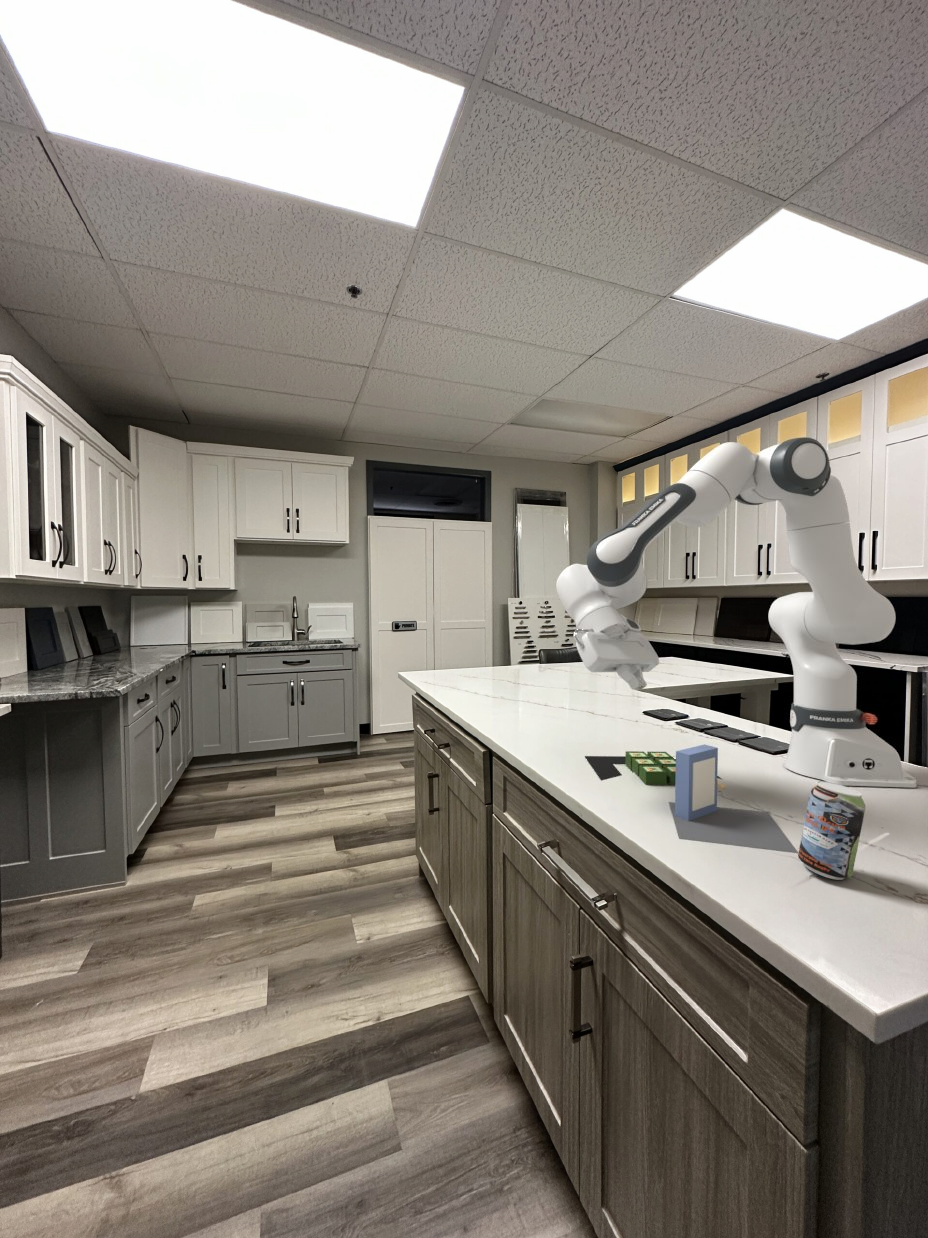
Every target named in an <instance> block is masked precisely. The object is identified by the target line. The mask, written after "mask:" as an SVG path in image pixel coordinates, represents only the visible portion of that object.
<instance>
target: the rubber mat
mask: <svg viewBox="0 0 928 1238" xmlns="http://www.w3.org/2000/svg"><path fill="white" fill-rule="evenodd" d="M668 804H669V808H670V811H671V815H672V818H673V822H674V826H675V829H676V833H677V835H678V839H679V840H686V841H687V840H688V841H694V842H695V841H696V842H702V843H709V844H718V845H727V846H736V847H745V848H752V849H753V848H754V849H761V850H767V851H768V850H769V851H777V852H785V853H793V854H798V853H799V850H797V849H796V847H795V846H794V845H793V843H792V842H791V841H790V839H789V838H788V837H787V835H786V834H785V832H784V831H783V830H782V828H781V827H780V826H779V824H778V823H777V822H776V820H775V819H774V818H773V816H772V815H771V814H770V813H769V812H768V811H761V810H760V811H759V810H753V809H752V810H750V809H741V808H731V807H721V806H717V811H715V812H712V813H709V814H706V815H704V816H701V817H698V818H695V819H693V820H690V821H687V820H684V819H682V818H680V817H677V816H675V801H674V802H671V801H668Z"/></svg>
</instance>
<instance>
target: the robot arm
mask: <svg viewBox="0 0 928 1238" xmlns="http://www.w3.org/2000/svg"><path fill="white" fill-rule="evenodd" d="M830 464H831V463H830V457H829V455H828V452H827V450H826V449H825V447H824V446H823V444H822V443H820V442H819V441H818V440H816V438H812V437H804V436H803V437H794V438H790V439H787V440H785V441H783V442H780V443H777V444H774V445H771V446H769V447H766V448H764V449H762V450H761V451H759V452H757V453H753V452H752V451H751V449H749V448H748V447H747V446H745V445H744V444H741V443H739V442H735V441H734V442H733V441H729V442H728V441H727V442H724V443H721V444H719V445H717V446H716V447H715V448H713V449H712V450H710V451H709V452H708V453H706V454H705V455H704V456H703V457H701V458H700V459H699V460H698V461H697V462H695V464H693V465H692V466H691V468H689V470H687V472H685V474H684V475H683V476H682V477H681V478H680V479H679V480H678V481H677V482H676V483H673V484H671V485H669V486H667V487H666V488H664V489H663V490H661V491H660V492H659V493H657V494H656V495H655V496H654V497H653V498H651V500H649V501H648V502H646V504H645V505H644V506H642V507H641V508H640V509H639V510H638V511H637V512H636V513H635V514H633V515H632V516H631V517H630V518H629V519H628V520H627V521H625V522H624V523H623V524H621V525H620V526H619V527H617V528H615V529H614V530H612V531H610V532H609V533H606V534H605V535H603V536H600V537H599V538H597V540H595V541H594V543H593V544H592V545H591V547H590V548H589V550H588V552H587V555H586V556H587V557H586V564H581V563H573V564H571V565H569V566H567V567H566V568H565V569H563V571H561V572H560V574H559V575H558V577H557V579H556V585H555V589H556V593H557V596H558V598H559V600H560V602H561V604H562V606H563V608H564V610H565V612H566V613H567V614H568V616H569V617H570V618H571V619H572V620H573V621H574V623H575V627H576V629H575V630H574V632H573V635H572V637H573V638H574V641H575V642H576V643H575V645H576V647H575V648H577V652H578V655H579V657H580V660H581V661H582V663H583V665H584V666H585V668H586V669H587V670H588V671H590V673H616V674H617V675H618V676H619V677H620V679H622V680H623V681H624V682H626V683H627V684H628V686H629V687H630V689H631V690H632V691H633V690H643V689H645V688H646V687H647V686H648V683H647V681H646V680H645V679H644V674H643V673H649V672H650V671H653V669H655V668H656V667H657V666H658V665H660V658H659V656H658V654H657V652H656V651H655V649H654V647H653V646H652V644H651V643H650V641H649V640H648V639H647V637H646V636H645V635H644V634H642V633H641V631H642V628H641V626H640V625H639V623H638V622H636V621H633V620H631V619H629V618H627V617H625V616H624V615H623V614H621V613H619V612H618V611H619V610H621V609H623V608H626V607H628V606H630V605H633V604H635V603H637V602H638V601H639V600H641V599H642V597H644V595H645V593H646V592H647V588H648V580H647V577H646V571H645V568H644V565H643V556H644V553H645V551H646V549H647V548H648V546H649V545H650V544H652V543H653V542H654V541H655V540H656V539H657V538H658V537H660V536H661V535H662V533H664V532H665V531H666V530H667V529H669V527H670V526H672V525H673V524H674V523H676V522H677V523H678V524H681V525H682V526H684V527H689V528H702V527H706V526H707V525H709V524H710V523H712V522H713V521H714V520H716V519H717V518H718V517H720V515H721V514H722V513H723V512H724V511H725V510H726V509H727V508H728V507H729V506H730V505H731V504H732V503H733V501H734V500H735V501H737V502H738V503H740V504H743V505H747V506H758V505H762V504H766V503H772V502H776V501H777V502H780V504H781V506H782V508H783V509H784V511H785V514H786V516H785V519H786V520H785V521H786V534H787V546H788V556H789V563H790V567H791V568H792V569H793V570H794V571H795V572H797V573H798V574H800V575H801V576H803V578H804V579H805V580H806V581H807V582H808V584H809V586H810V588H811V590H812V591H803V592H802V591H799V592H795V593H790V594H787V595H784V596H780V597H778V598H777V599H775V600H774V601H773V602H772V603H771V605H770V608H769V610H768V622H769V626H770V628H771V629H772V630H773V632H775V633H776V634H777V635H778V637H779V638H780V639H781V640H782V642H783V643H784V645H785V647H786V650H787V651H788V654H789V657H790V661H791V665H792V671H793V702H792V703H791V706H790V714H789V715H790V717H789V718H790V719H789V723H790V728H791V736H790V739H789V740H790V741H789V744H788V745H789V746H788V749H787V753H786V757H785V760H784V762H783V766H784V767H785V768H786V769H787V770H790V771H791V772H793V773H796V774H799V775H802V776H806V777H809V778H814V779H818V780H820V781H821V780H822V781H825V782H831V783H835V784H839V785H843V786H846V787H848V786H852V787H853V786H854V787H856V786H857V787H882V788H883V787H887V788H910V789H911V788H913V789H914V788H917V786H918V785H917V780H916V778H915V777H914V776H912V774H910V773H909V772H906V771H904V770H903V767H902V762H901V760H902V759H901V757H900V755H899V753H898V752H897V750H896V749H895V748H894V747H893V746H892V745H890V744H889V743H888V742H886V741H885V740H884V739H882V738H881V737H879V736H878V735H877V734H876V733H874V732H873V731H872V730H870V729H868V728H867V726H866V725H867V724H868V725H875V724H876V723H877V722H878V717H877V716H876V715H875V714H872V713H869V712H863V711H861V710H860V709H858V708H857V689H858V688H857V687H858V686H857V683H858V682H857V681H858V679H857V678H858V676H857V673H856V671H855V669H854V668H853V667H852V666H851V665H850V664H848V663H847V662H846V661H845V660H844V659H843V658H842V657H841V655H840V654H839V653H840V652H839V651H838V648H837V645H836V644H842V645H861V644H862V645H863V644H869V643H876V642H881V641H882V640H884V639H886V638H887V637H888V636H889V635H890V634H891V633H892V631H893V629H894V627H895V624H896V611H895V608H894V606H893V604H892V603H891V601H890V600H889V599H888V598H887V597H885V595H882V594H880V593H879V592H877V591H876V590H875V589H874V588H873V587H872V586H871V585H870V584H869V583H868V582H867V580H866V579H865V577H864V576H863V574H862V572H861V570H860V569H859V567H858V564H857V562H856V558H855V555H854V549H853V548H854V547H853V542H852V531H851V523H850V521H851V520H850V514H849V508H848V503H847V498H846V496H845V495H846V494H845V492H844V488H843V486H842V484H841V483H842V482H841V481H840V480H839V479H838V478H837V477H836V476H835V475H832V474H831V473H832V469H831V465H830Z"/></svg>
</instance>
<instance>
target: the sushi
mask: <svg viewBox="0 0 928 1238" xmlns="http://www.w3.org/2000/svg"><path fill="white" fill-rule="evenodd" d="M673 757H674V756H672V755H671V754H669V753H668V752H667V751H647V752H645V751H638V750H637V751H628V750H627V751H626V750H625V756H621V755H620V756H619V755H617V756H614V755H613V756H611V755H609V756H607V755H605V756H604V755H584V758H585V760H586V759H587V760H586V761H587V762H588V764H589V765H590V767H591V768H592V770H593V769H594V770H593V771H594V773H595V774H596V775H597V777H598V779H599V780H600V781H601V782H602V781H605V780H608V779H613V778H616V777H621V776H623V774H622V773H621V772H620V771H619V769H618V768H617V767H616V766H615V765H625V766H626V767H627V768H628V769H629V770H630V772H632V774H633V773H634V774H635V775H636V776H637V777H638V778H639V779H640V781H641V782H643V784H644V785H645V786H667V783H668V785H669V786H675V781H676V759H674V758H673ZM717 779H719V780H723V778H721V777H720V776H719V775H717ZM718 786H719V787H720V788H722V789H726V786H724V785H722V783H720V782H719V781H717V789H719V788H718Z"/></svg>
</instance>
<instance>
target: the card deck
mask: <svg viewBox="0 0 928 1238" xmlns="http://www.w3.org/2000/svg"><path fill="white" fill-rule="evenodd" d="M718 751H719V748H718V747H715V746H713V745H708V744H702V745H696V746H693V747H688V748H684V749H680V750H677V751H675V757H676V781H675V785H674V786H675V788H674V789H675V793H674V794H675V795H674V796H675V797H674V803H675V816H677V817H680V818H682V819H684V820H687V821H690V820H693V819H695V818H698V817H701V816H704V815H706V814H709V813H712V812H715V811H717V807H718V788H717V787H718V784H717V782H718V778H717V776H718V762H719V758H718V757H719V756H718V755H719V753H718Z"/></svg>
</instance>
